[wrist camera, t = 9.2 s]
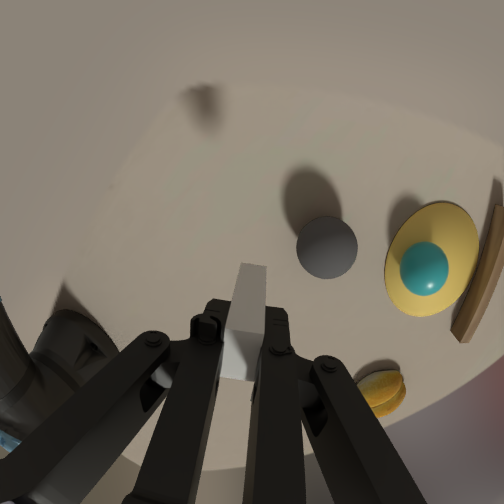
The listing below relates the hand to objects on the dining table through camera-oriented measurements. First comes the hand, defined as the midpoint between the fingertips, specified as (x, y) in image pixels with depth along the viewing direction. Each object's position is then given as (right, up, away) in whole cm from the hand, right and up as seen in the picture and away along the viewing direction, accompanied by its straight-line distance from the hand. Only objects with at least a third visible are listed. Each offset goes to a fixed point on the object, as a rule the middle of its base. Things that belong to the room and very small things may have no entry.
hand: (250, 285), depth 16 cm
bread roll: (+19, -18, +17) cm, 31 cm away
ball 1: (+7, +2, +7) cm, 10 cm away
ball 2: (+17, 0, +7) cm, 19 cm away
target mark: (+21, +1, +10) cm, 23 cm away
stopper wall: (+30, -1, +9) cm, 31 cm away
